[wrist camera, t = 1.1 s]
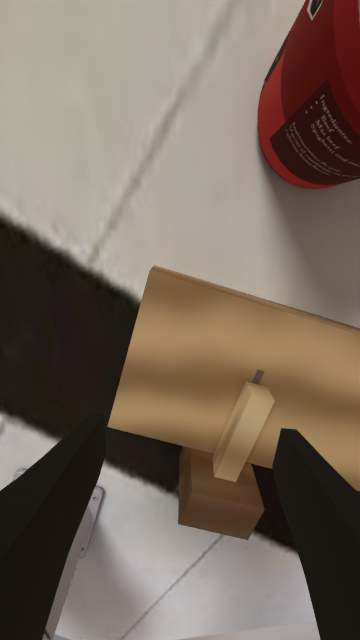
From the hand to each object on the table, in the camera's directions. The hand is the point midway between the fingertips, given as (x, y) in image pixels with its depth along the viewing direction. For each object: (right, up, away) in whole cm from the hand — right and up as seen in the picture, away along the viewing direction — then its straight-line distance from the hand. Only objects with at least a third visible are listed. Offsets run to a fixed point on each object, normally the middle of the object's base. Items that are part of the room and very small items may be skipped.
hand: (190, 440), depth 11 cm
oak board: (+10, -1, +11) cm, 15 cm away
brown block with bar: (+3, -4, +12) cm, 13 cm away
